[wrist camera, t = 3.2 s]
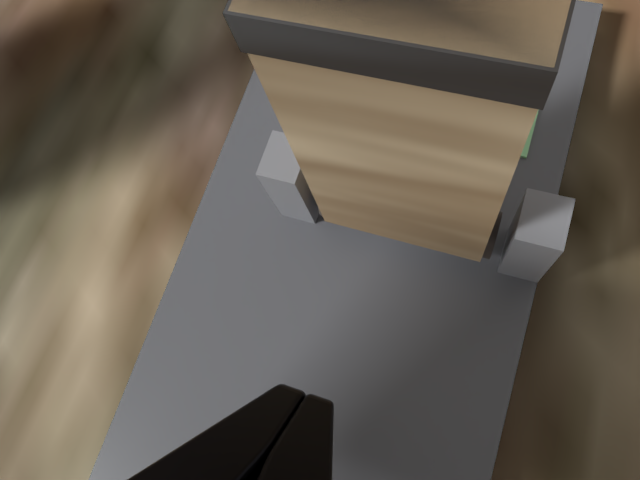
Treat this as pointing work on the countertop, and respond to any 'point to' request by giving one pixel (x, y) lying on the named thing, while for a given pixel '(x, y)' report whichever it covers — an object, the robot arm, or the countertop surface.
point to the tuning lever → (407, 105)
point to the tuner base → (349, 308)
